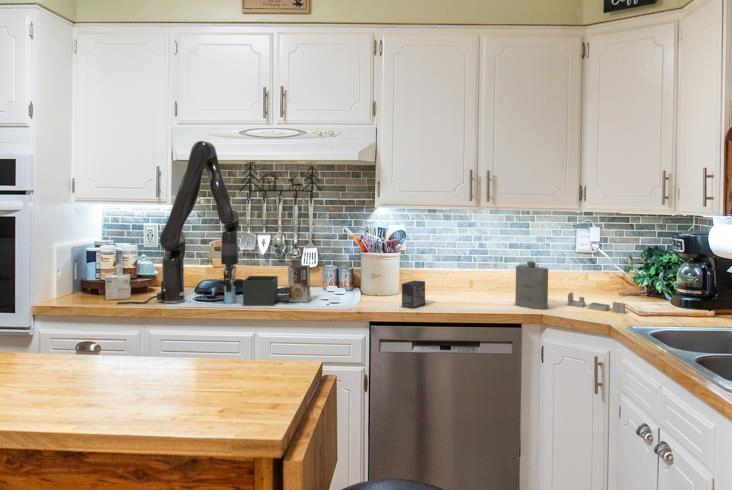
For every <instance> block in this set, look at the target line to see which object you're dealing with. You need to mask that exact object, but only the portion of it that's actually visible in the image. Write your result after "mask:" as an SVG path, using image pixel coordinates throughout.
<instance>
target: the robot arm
mask: <svg viewBox="0 0 732 490" xmlns="http://www.w3.org/2000/svg"><path fill="white" fill-rule="evenodd" d="M185 168H186V169H185V170H184V171H185V172H184V173H183V176H182V179H181V182H180V184H179V186H178V189H177V192H176V195H175V197H174V201H173V204H172V207H171V210H170V213H169V215H168V219H167V220H166V223H165V226H164V227H163V229H162V231H161V233H160V236H159V244H160V246H161V248H163V249H164V255H163V256H162V259H161V262H162V263H161V264H162V265H161V269H162V270H161V271H162V273H161V274H162V280H161V281H160V291H159V292H157V293H156V295H154V296H152V297H149V298H148V299H147V300H145V301H118V302H117V305H124V304H125V305H127V304H128V305H129V304H137V305H143V304H147V303H149V302H150V301H151V300H153V299H156V301H160V303H164V304H178V303H183V302H185V293H186V292H185V257H186V236H185V233H184V231H183V229H184V225H185V223H186V222H187V219H188V218H189V217H190V215H191V213H192V212H193V210H194V208H195V207H196V205H197V202H198V199H199V197H200V193H201V188H202V176H203V172H204V170H205V171H206V174H207V178H208V183H209V190H210V192H211V195H212V198H213V200H214V202H215V206H216V211H217V216H218V219H219V221H220V223H221V224H223V230H222V232H221V246H220V263H221V265H225V268H224V269H223V283H224V284H225V287H226V292H231V280H233V286H235V281H236V275H237V273H236V272H237V266H236V265H238V264H239V246H238V245H239V243H238V242H239V241H238V232H239V226H240V215H239V212H238V211H237V210H236V209H234V208H233V207H232V205H231V202H232V199H231V196H230V193H229V190H228V188H227V186H226V183H225V180H224V177H223V174H222V170H221V168H220V163H219V159H218V154H217V149H216V147H215V146H214V144H213V143H211V142H210V141H205V140H199V141H197V142H195V143H194V144H193V145H192V147H191V149H190V153H189V157H188V162H187V165H186V167H185Z"/></svg>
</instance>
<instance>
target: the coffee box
mask: <svg viewBox="0 0 732 490" xmlns="http://www.w3.org/2000/svg"><path fill="white" fill-rule="evenodd" d="M287 275H288V277H287V280H288V281H287V283H288V303H308V302H310V301H311V265H309V264H307V265H306V264H304V265H301V264H298V265H295V264H291V265H290V266H288V267H287Z"/></svg>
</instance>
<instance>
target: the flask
mask: <svg viewBox="0 0 732 490" xmlns="http://www.w3.org/2000/svg"><path fill="white" fill-rule="evenodd" d="M548 300H549V268H547V267H539V266H536V262H535V261H531V260H529V261H527V262H526V265H521V264H520V265H516V266H515V304H514V305H516V306H519V307H523V308H527V309H528V308H529V309H535V310H547V309H548V307H549V306H548V305H549V303H548V302H549V301H548Z"/></svg>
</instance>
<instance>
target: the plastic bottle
mask: <svg viewBox="0 0 732 490" xmlns="http://www.w3.org/2000/svg"><path fill="white" fill-rule="evenodd" d="M224 303H225V304H235V303H236V286H235V285H234V286H233V280H231V292H226V286H224Z"/></svg>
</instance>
